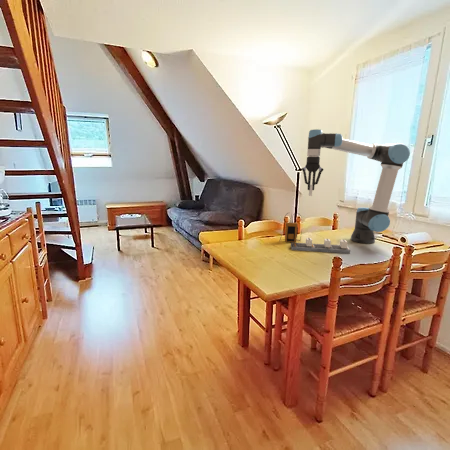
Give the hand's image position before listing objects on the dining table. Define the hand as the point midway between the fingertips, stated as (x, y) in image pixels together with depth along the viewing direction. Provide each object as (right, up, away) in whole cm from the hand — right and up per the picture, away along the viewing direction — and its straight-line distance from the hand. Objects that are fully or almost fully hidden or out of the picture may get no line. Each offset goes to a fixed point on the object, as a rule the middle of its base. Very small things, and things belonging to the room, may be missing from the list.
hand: (310, 195), depth 180 cm
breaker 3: (+19, -32, -3) cm, 37 cm away
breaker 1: (-1, -31, 0) cm, 31 cm away
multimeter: (-9, -29, +19) cm, 36 cm away
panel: (+5, -33, 0) cm, 34 cm away
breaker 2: (+10, -31, -2) cm, 33 cm away
